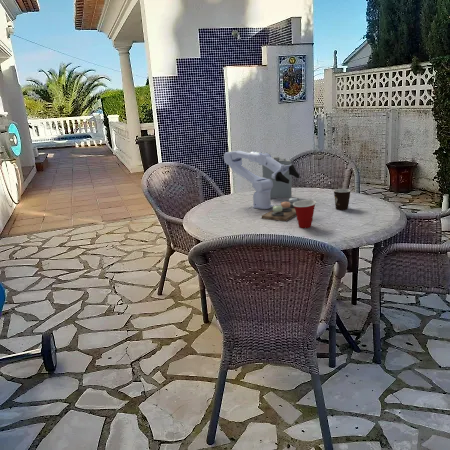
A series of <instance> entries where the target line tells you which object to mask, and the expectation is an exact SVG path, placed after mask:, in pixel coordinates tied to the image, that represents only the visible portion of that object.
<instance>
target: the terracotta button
mask: <svg viewBox="0 0 450 450" xmlns="http://www.w3.org/2000/svg"><path fill="white" fill-rule="evenodd" d="M290 204H291V203H290V202H289V201H281V202H280V206H282V207H284V208H287V207H290Z"/></svg>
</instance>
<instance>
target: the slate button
mask: <svg viewBox="0 0 450 450" xmlns="http://www.w3.org/2000/svg"><path fill="white" fill-rule="evenodd" d="M297 201H299V200H298V198H297V197H291V198H288V202H290V204H293V203H294V202H297Z"/></svg>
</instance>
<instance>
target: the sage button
mask: <svg viewBox="0 0 450 450" xmlns="http://www.w3.org/2000/svg"><path fill="white" fill-rule="evenodd" d="M272 210H273V211H274V212H280V211H282V206H281V205H274V206H273V207H272Z"/></svg>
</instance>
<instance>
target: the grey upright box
mask: <svg viewBox="0 0 450 450" xmlns="http://www.w3.org/2000/svg"><path fill="white" fill-rule="evenodd" d="M272 158H273V159H274V160H276V161H277V162H279V163H280V164H282V165H283V164H284V166H286V165H292V161H291V160H290V159H287V160H286V158H282V157H281V158H280V156H273V157H272ZM261 167H262V169H261V170H262V177H263V178H266V179H270V180H271V181H272V182H273V188H272V189H271V191H270V196H271V199H274V198H275V199H277V198H279V199H280V198H281V199H283V198H286V199H287V198H288V199H289V198H293V197H292V175H289V171H287V172H286V173H285V174H284V176H285V177H286V178H287V179H289V184H287V183H284V182H279V181H276V178H275V179H273V178H272V174H273V173H274V172H273V171H271V170H270V169H269V168H267V167H266V166H264V165H261Z"/></svg>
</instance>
